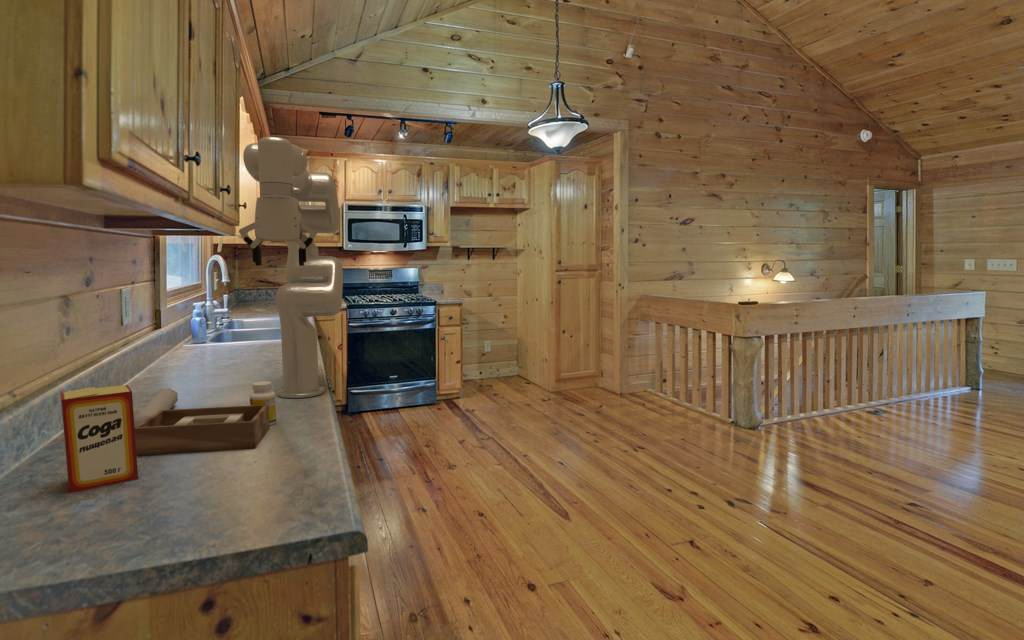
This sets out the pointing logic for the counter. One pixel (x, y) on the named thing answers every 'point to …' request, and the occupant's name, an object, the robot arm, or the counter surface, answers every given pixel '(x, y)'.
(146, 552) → the counter surface
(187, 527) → the counter surface
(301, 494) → the counter surface
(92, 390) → the baking soda box
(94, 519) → the counter surface
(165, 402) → the tube
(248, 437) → the crate
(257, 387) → the supplement bottle
